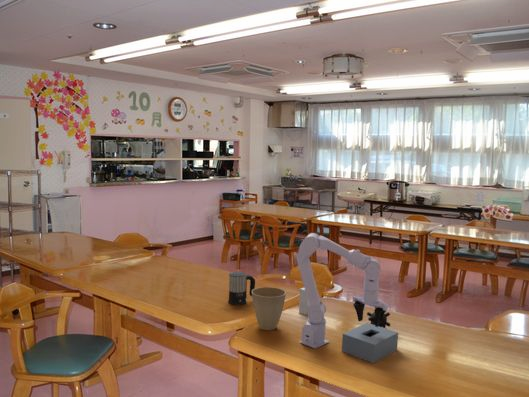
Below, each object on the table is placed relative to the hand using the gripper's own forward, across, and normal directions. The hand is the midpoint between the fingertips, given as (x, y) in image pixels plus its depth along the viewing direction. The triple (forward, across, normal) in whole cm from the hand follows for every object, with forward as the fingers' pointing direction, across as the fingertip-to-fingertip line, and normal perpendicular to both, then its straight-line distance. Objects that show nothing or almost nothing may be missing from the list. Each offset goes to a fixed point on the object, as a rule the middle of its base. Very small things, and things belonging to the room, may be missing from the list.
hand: (368, 323), depth 181 cm
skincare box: (+11, +43, -14) cm, 46 cm away
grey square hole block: (+10, -2, 0) cm, 10 cm away
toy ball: (+11, +9, -23) cm, 27 cm away
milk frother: (+11, +78, -2) cm, 79 cm away
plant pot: (+11, +41, +14) cm, 45 cm away
